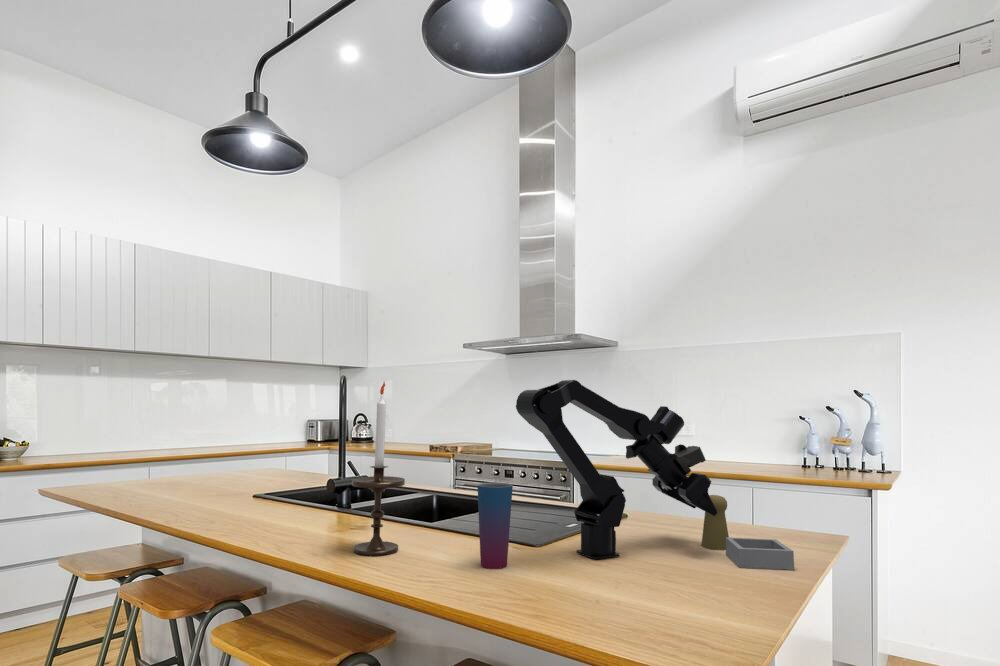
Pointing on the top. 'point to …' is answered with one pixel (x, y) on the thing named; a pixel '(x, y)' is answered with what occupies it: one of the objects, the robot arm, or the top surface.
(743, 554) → the open box
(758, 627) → the top surface
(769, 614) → the top surface
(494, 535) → the cup
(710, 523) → the olive pawn
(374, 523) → the candlestick
